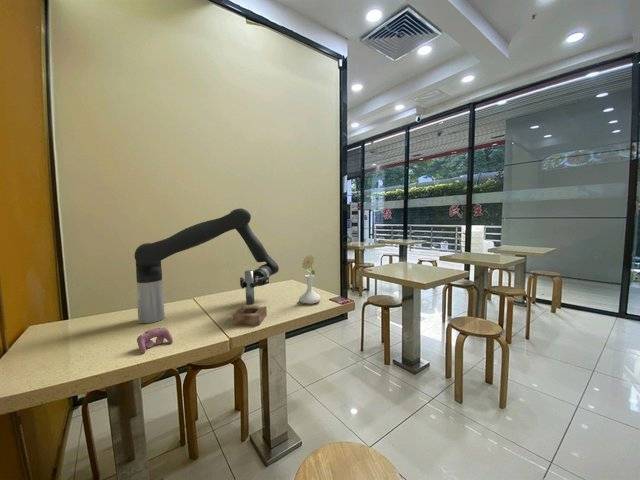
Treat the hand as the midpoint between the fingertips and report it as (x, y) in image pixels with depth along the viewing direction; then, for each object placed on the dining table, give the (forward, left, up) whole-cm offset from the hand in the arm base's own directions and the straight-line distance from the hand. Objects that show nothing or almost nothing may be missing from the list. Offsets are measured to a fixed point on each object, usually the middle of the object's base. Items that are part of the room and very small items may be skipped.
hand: (247, 285), depth 107 cm
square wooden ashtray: (+1, +2, -15) cm, 16 cm away
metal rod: (+2, +3, -8) cm, 9 cm away
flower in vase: (+33, +11, -16) cm, 39 cm away
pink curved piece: (-32, -6, -16) cm, 37 cm away
